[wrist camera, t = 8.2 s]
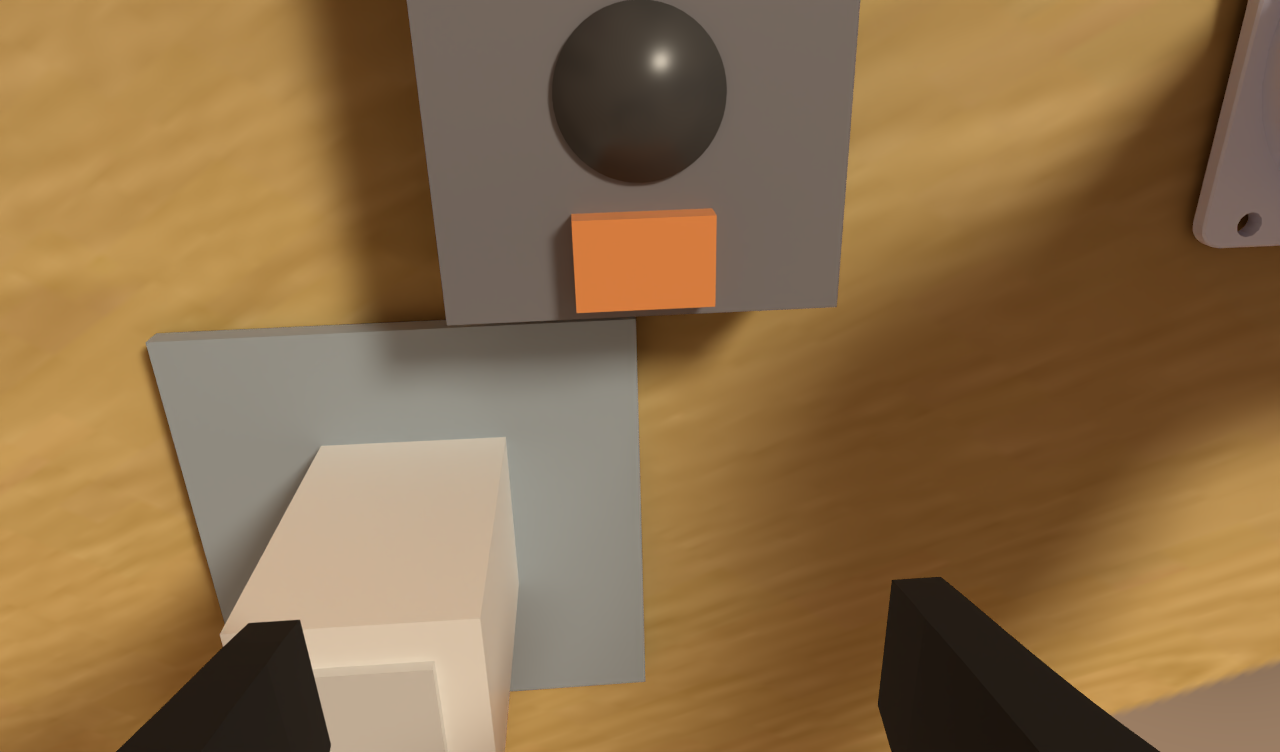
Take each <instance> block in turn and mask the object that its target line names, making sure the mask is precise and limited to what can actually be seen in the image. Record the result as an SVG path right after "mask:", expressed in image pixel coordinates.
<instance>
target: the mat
mask: <svg viewBox="0 0 1280 752" xmlns="http://www.w3.org/2000/svg"><path fill="white" fill-rule="evenodd" d="M146 346H147V349H148V353H149V356H150V360H151V363H152V367H153V370H154V374H155V378H156V381H157V385H158V388H159V392H160V395H161V399H162V402H163V406H164V410H165V413H166V417H167V420H168V424H169V427H170V431H171V434H172V438H173V441H174V445H175V449H176V452H177V456H178V459H179V463H180V466H181V470H182V473H183V477H184V480H185V484H186V488H187V491H188V495H189V498H190V502H191V505H192V509H193V512H194V516H195V520H196V523H197V527H198V530H199V534H200V537H201V541H202V544H203V548H204V551H205V555H206V559H207V562H208V566H209V569H210V573H211V576H212V580H213V583H214V587H215V590H216V594H217V598H218V601H219V605H220V608H221V612H222V615H223V619H224V622H225V623H226V622H227V620H228V618H229V616H230V614H231V612H232V610H233V609H234V607H235V605H236V603H237V601H238V599H239V597H240V596H241V594H242V592H243V590H244V588H245V586H246V584H247V583H248V581H249V579H250V577H251V575H252V573H253V571H254V570H255V568H256V566H257V564H258V562H259V560H260V558H261V557H262V555H263V553H264V551H265V549H266V547H267V545H268V544H269V542H270V540H271V538H272V536H273V534H274V532H275V530H276V529H277V527H278V525H279V523H280V521H281V519H282V517H283V516H284V514H285V512H286V510H287V508H288V506H289V504H290V503H291V501H292V499H293V497H294V495H295V493H296V491H297V490H298V488H299V486H300V484H301V482H302V480H303V478H304V477H305V475H306V473H307V471H308V469H309V467H310V465H311V464H312V462H313V460H314V458H315V456H316V454H317V452H318V451H319V449H320V447H321V446H329V445H350V444H370V443H391V442H412V441H433V440H453V439H474V438H495V437H506V446H507V457H508V468H509V479H510V490H511V501H512V512H513V524H514V535H515V546H516V557H517V568H518V579H519V588H518V600H517V612H516V624H515V636H514V648H513V660H512V672H511V684H510V691H523V690H537V689H550V688H564V687H578V686H592V685H606V684H620V683H633V682H645V649H644V611H643V573H642V534H641V496H640V457H639V419H638V381H637V342H636V317H614V318H593V319H572V320H551V321H530V322H509V323H488V324H467V325H447V322H446V320H431V321H410V322H389V323H367V324H346V325H325V326H304V327H282V328H261V329H240V330H219V331H197V332H176V333H156V334H155V335H154V336H153V337H151V338H150V339H149V340H148V341H147V342H146Z"/></svg>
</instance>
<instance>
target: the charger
mask: <svg viewBox="0 0 1280 752" xmlns="http://www.w3.org/2000/svg"><path fill="white" fill-rule="evenodd" d="M518 588H519V579H518V568H517V557H516V546H515V535H514V524H513V512H512V501H511V490H510V479H509V468H508V457H507V446H506V437H495V438H474V439H453V440H433V441H412V442H391V443H370V444H350V445H329V446H321V447H320V449H319V451H318V452H317V454H316V456H315V458H314V460H313V462H312V464H311V465H310V467H309V469H308V471H307V473H306V475H305V477H304V478H303V480H302V482H301V484H300V486H299V488H298V490H297V491H296V493H295V495H294V497H293V499H292V501H291V503H290V504H289V506H288V508H287V510H286V512H285V514H284V516H283V517H282V519H281V521H280V523H279V525H278V527H277V529H276V530H275V532H274V534H273V536H272V538H271V540H270V542H269V544H268V545H267V547H266V549H265V551H264V553H263V555H262V557H261V558H260V560H259V562H258V564H257V566H256V568H255V570H254V571H253V573H252V575H251V577H250V579H249V581H248V583H247V584H246V586H245V588H244V590H243V592H242V594H241V596H240V597H239V599H238V601H237V603H236V605H235V607H234V609H233V610H232V612H231V614H230V616H229V618H228V620H227V622H226V623H225V625H224V627H223V629H222V631H221V633H220V638H221V641H222V645H223V647H224V646H225V645H226V644H227V643H228V642H229V641H230V640H231V639H232V638H233V637H234V636H235V635H236V634H237V633H238V632H239V631H240V630H242V629H243V628H244V627H245V626H246V625H247V624H248V623H256V622H271V621H286V620H300V621H301V625H302V629H303V634H304V638H305V642H306V646H307V650H308V654H309V658H310V662H311V666H312V670H313V674H314V678H315V682H316V686H317V690H318V694H319V698H320V702H321V706H322V710H323V714H324V718H325V722H326V726H327V730H328V734H329V738H330V742H331V748H330V752H505V743H506V731H507V720H508V708H509V696H510V684H511V672H512V660H513V648H514V636H515V624H516V612H517V600H518Z"/></svg>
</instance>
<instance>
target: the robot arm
mask: <svg viewBox="0 0 1280 752" xmlns="http://www.w3.org/2000/svg"><path fill="white" fill-rule="evenodd" d="M1246 214H1248V221H1247V223H1246V225H1245V226H1244V227H1243V228H1242V229H1241V230H1239V231H1237V225H1238V223H1239V221H1240V219H1241V218H1242V217H1244V216H1245V215H1246ZM1193 233H1194V236H1195V238H1196V239H1197V240H1198V241H1200V242H1201V243H1203V244H1205V245H1208V246H1210V247H1215V248H1236V247H1258V246H1280V0H1248V4H1247V8H1246V12H1245V16H1244V20H1243V24H1242V28H1241V32H1240V36H1239V40H1238V44H1237V48H1236V52H1235V56H1234V60H1233V64H1232V68H1231V72H1230V76H1229V80H1228V84H1227V88H1226V92H1225V96H1224V100H1223V105H1222V109H1221V113H1220V117H1219V121H1218V125H1217V129H1216V133H1215V137H1214V141H1213V145H1212V149H1211V153H1210V157H1209V161H1208V165H1207V169H1206V173H1205V177H1204V181H1203V185H1202V189H1201V193H1200V197H1199V201H1198V205H1197V209H1196V213H1195V217H1194V221H1193ZM878 707H879V710H880V714H881V717H882V721H883V724H884V728H885V731H886V734H887V738H888V741H889V745H890V748H891V751H892V752H1160V751H1158V750H1157V749H1156V748H1154V747H1153V746H1152V745H1150V744H1149V743H1147V742H1146V741H1145V740H1143V739H1142V738H1140V737H1139V736H1138V735H1136V734H1135V733H1134V732H1132V731H1131V730H1129V729H1128V728H1127V727H1125V726H1124V725H1122V724H1121V723H1120V722H1119V721H1117V720H1116V719H1115V718H1113V717H1112V716H1111V715H1109V714H1108V713H1107V712H1105V711H1104V710H1103V709H1101V708H1100V707H1099V706H1098V705H1096V704H1095V703H1094V702H1092V701H1091V700H1090V699H1088V698H1087V697H1086V696H1085V695H1083V694H1082V693H1081V692H1080V691H1078V690H1077V689H1076V688H1074V687H1073V686H1072V685H1071V684H1069V683H1068V682H1067V681H1066V680H1064V679H1063V678H1062V677H1061V676H1059V675H1058V674H1057V673H1056V672H1054V671H1053V670H1052V669H1051V668H1050V667H1048V666H1047V665H1046V664H1045V663H1043V662H1042V661H1041V660H1040V659H1039V658H1037V657H1036V656H1035V655H1034V654H1032V653H1031V652H1030V651H1029V650H1028V649H1026V648H1025V647H1024V646H1023V645H1022V644H1020V643H1019V642H1018V641H1017V640H1016V639H1014V638H1013V637H1012V636H1011V635H1010V634H1008V633H1007V632H1006V631H1005V630H1004V629H1003V628H1001V627H1000V626H999V625H998V624H997V623H995V622H994V621H993V620H992V619H991V618H989V617H988V616H987V615H986V614H985V613H984V612H982V611H981V610H980V609H979V608H978V607H977V606H975V605H974V604H973V603H972V602H971V601H969V600H968V599H967V598H966V597H965V596H963V595H962V594H961V593H960V592H959V591H957V590H956V589H955V588H954V587H953V586H951V585H950V584H949V583H948V582H946V581H945V580H944V579H943V578H941V577H931V578H916V579H901V580H892V585H891V594H890V602H889V611H888V620H887V629H886V637H885V646H884V655H883V664H882V672H881V681H880V690H879V699H878ZM330 748H331V742H330V738H329V734H328V730H327V726H326V722H325V718H324V714H323V710H322V706H321V702H320V698H319V694H318V690H317V686H316V682H315V678H314V674H313V670H312V666H311V662H310V658H309V654H308V650H307V646H306V642H305V638H304V634H303V629H302V625H301V621H300V620H286V621H271V622H256V623H248V624H247V625H246V626H245V627H244V628H243V629H242V630H240V631H239V632H238V633H237V634H236V635H235V636H234V637H233V638H232V639H231V640H230V641H229V642H228V643H227V644H226V645H225V646H224V647H223V648H222V649H221V650H220V651H219V652H218V653H217V654H216V655H215V656H214V657H213V658H212V659H211V660H210V661H209V662H208V663H207V664H206V665H205V666H204V667H203V668H202V669H201V670H200V671H199V672H198V673H197V674H196V675H195V676H193V677H192V678H191V679H190V680H189V681H188V682H187V683H186V684H185V685H184V686H183V687H182V688H181V689H180V690H179V691H178V692H177V693H176V694H175V695H174V696H173V697H172V698H171V699H170V700H169V701H168V702H167V703H166V704H165V705H164V706H163V707H162V708H161V709H160V710H159V711H158V712H157V713H156V714H155V715H154V716H153V717H152V718H151V719H150V720H149V721H147V722H146V723H145V724H144V725H143V726H142V727H141V728H140V729H139V730H138V731H137V732H136V733H135V734H134V735H133V736H132V737H131V738H130V739H129V740H128V741H127V742H126V743H125V744H124V745H123V746H122V747H120V748H119V749H118V750H117V751H116V752H330Z"/></svg>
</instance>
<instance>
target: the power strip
mask: <svg viewBox="0 0 1280 752" xmlns="http://www.w3.org/2000/svg"><path fill="white" fill-rule="evenodd" d="M407 7H408V15H409V23H410V31H411V39H412V48H413V56H414V64H415V72H416V80H417V88H418V96H419V104H420V112H421V120H422V128H423V136H424V145H425V153H426V161H427V169H428V177H429V185H430V193H431V201H432V209H433V217H434V225H435V233H436V241H437V250H438V258H439V266H440V274H441V282H442V290H443V298H444V306H445V314H446V322H447V325H467V324H488V323H509V322H530V321H551V320H572V319H593V318H614V317H635V316H656V315H678V314H699V313H720V312H741V311H762V310H783V309H804V308H825V307H837V296H838V283H839V270H840V257H841V244H842V231H843V218H844V205H845V192H846V179H847V166H848V153H849V140H850V127H851V114H852V101H853V88H854V75H855V61H856V48H857V35H858V22H859V9H860V0H407Z"/></svg>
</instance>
